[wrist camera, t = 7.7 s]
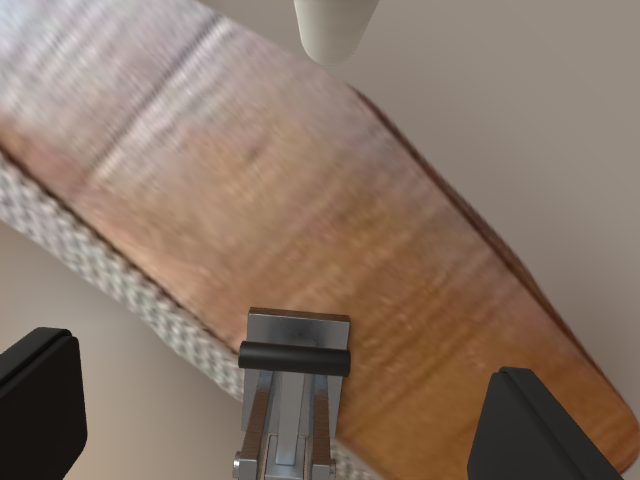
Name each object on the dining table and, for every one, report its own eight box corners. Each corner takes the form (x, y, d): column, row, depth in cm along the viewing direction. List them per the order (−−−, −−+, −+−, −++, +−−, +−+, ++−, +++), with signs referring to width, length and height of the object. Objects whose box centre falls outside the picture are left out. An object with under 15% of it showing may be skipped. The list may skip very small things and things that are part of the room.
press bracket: (250, 306, 32) (212, 405, 20) (349, 315, 32) (366, 418, 20) (243, 420, 35) (207, 563, 23) (334, 428, 35) (342, 572, 23)
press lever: (245, 325, 19) (234, 367, 17) (349, 334, 19) (351, 377, 17) (247, 456, 25) (239, 498, 23) (324, 462, 25) (323, 504, 23)
